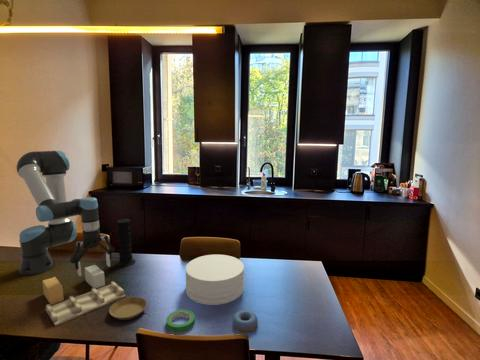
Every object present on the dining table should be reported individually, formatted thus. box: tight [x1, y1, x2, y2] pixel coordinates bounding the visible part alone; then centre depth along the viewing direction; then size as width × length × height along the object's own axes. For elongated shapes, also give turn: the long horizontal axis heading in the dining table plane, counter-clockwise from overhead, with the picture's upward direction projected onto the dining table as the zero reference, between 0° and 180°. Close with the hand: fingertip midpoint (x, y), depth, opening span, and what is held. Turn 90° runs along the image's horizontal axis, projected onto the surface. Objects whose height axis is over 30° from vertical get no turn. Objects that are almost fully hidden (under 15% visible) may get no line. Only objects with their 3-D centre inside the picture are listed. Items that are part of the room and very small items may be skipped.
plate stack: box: [185, 254, 245, 306], centre depth 137 cm, size 28×28×12 cm
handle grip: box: [116, 218, 136, 268], centre depth 163 cm, size 10×26×10 cm
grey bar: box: [84, 264, 106, 289], centre depth 142 cm, size 12×5×7 cm, turn 47°
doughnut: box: [232, 309, 259, 333], centre depth 111 cm, size 10×10×5 cm
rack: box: [45, 280, 127, 327], centre depth 125 cm, size 15×28×3 cm, turn 136°
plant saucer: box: [108, 296, 148, 321], centre depth 119 cm, size 15×15×3 cm
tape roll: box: [165, 309, 196, 334], centre depth 112 cm, size 11×11×3 cm
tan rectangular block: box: [42, 276, 65, 306], centre depth 129 cm, size 12×5×7 cm, turn 47°
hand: (94, 270), depth 141 cm, fingers open, 13 cm apart
